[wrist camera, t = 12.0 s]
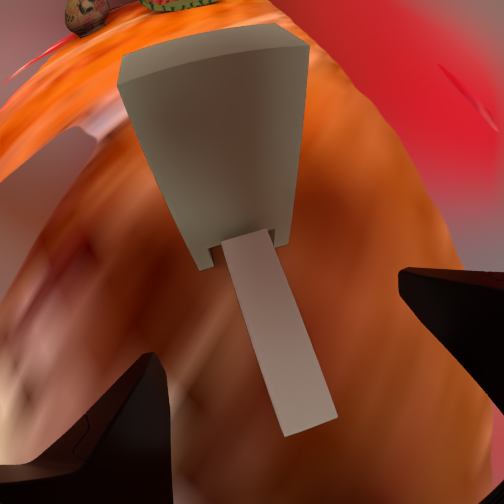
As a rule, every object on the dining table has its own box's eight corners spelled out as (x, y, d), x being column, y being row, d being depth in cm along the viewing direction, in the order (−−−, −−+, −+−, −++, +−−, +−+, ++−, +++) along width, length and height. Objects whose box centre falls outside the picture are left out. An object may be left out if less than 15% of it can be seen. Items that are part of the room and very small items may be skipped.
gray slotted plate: (272, 208, 20) (275, 23, 8) (288, 244, 19) (309, 45, 7) (190, 232, 19) (123, 55, 8) (199, 271, 18) (116, 84, 6)
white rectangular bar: (320, 410, 14) (338, 416, 10) (279, 425, 13) (284, 436, 10) (231, 171, 22) (226, 132, 18) (202, 179, 21) (192, 141, 18)
